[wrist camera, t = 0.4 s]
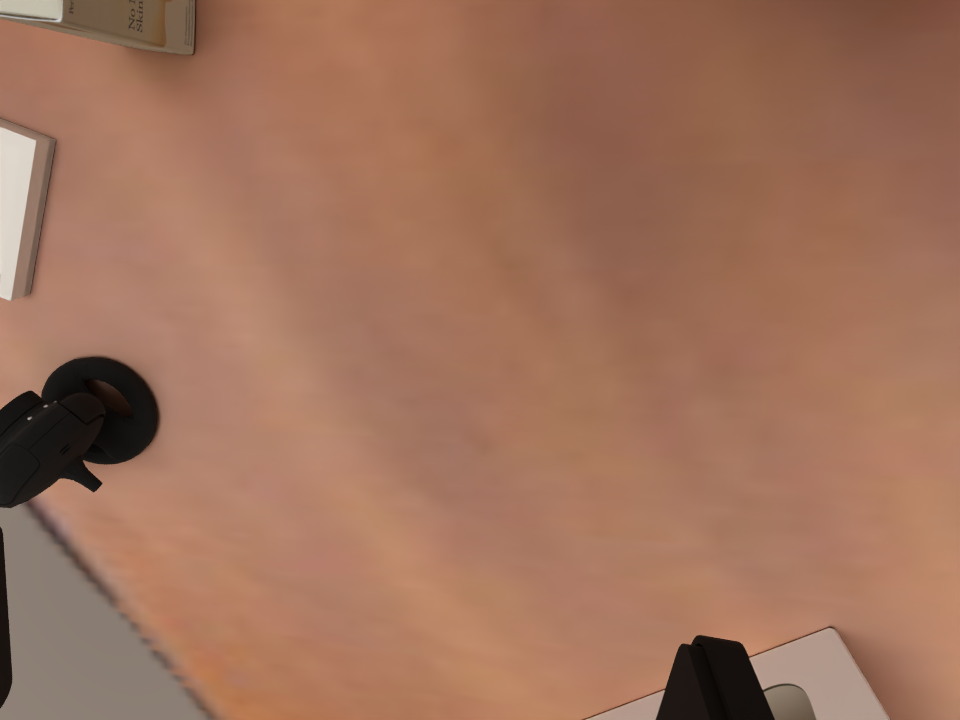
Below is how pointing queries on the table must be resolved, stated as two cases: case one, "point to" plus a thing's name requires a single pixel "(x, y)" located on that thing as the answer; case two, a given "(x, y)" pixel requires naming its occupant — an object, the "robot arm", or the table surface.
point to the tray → (21, 204)
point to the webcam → (71, 429)
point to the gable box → (795, 684)
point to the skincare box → (113, 21)
